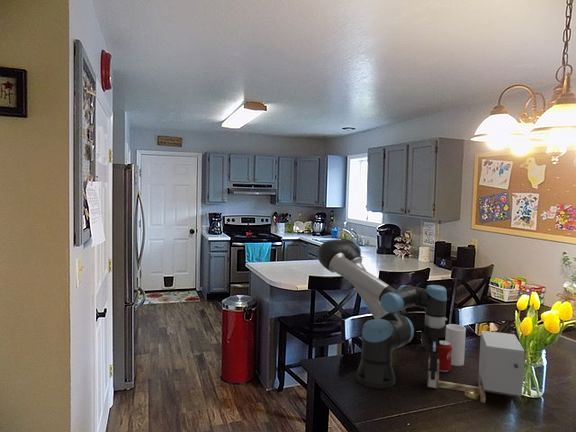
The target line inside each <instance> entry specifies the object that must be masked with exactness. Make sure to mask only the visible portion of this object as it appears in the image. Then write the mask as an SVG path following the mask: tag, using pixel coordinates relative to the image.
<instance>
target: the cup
mask: <svg viewBox="0 0 576 432" xmlns="http://www.w3.org/2000/svg"><path fill="white" fill-rule="evenodd" d="M466 331H467V328H466V327H465V326H463V325H460V324H454V323H451V324H450V323H449V324H445V340H444V341H448V342H450V343H451V346H452V358H451V366H455V367H456V366H459V367H461V366H464V364H465V355H466V354H465V352H466V351H465V350H466V346H465V345H466V333H467V332H466Z"/></svg>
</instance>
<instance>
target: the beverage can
mask: <svg viewBox="0 0 576 432" xmlns="http://www.w3.org/2000/svg"><path fill="white" fill-rule="evenodd" d="M439 342H440V345H439V352H438V353H437V359H439V372H441V373H449V371H451V370H452V365H451V358H452V346H451V343H450V342H448V341H445V340H439Z"/></svg>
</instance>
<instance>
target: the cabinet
mask: <svg viewBox="0 0 576 432" xmlns="http://www.w3.org/2000/svg"><path fill="white" fill-rule="evenodd" d="M478 358H479V359H478V374H477V375H478V380H477V384H478V386H479V384H480V385H483V387H484V390H485V393H492V394H498V395H505V396H509V397H516V396H520V397H521V396H522V395H523V386H524V385H523V384H524V383H523V381H524V369H525V368H524V367H525V349H524V347H523V346H522V344H521V342H520V341H519V340H518V338H517V335H516V334H513V333H506V332H505V333H504V332H497V331H487V330H480V342H479V357H478Z"/></svg>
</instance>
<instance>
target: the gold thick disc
mask: <svg viewBox="0 0 576 432" xmlns="http://www.w3.org/2000/svg"><path fill="white" fill-rule="evenodd" d="M464 397H466V398H468V399H469V400H474V401H476V400H480V392H479V391H477V390H475V389H470V388H468V389H465V391H464Z"/></svg>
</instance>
